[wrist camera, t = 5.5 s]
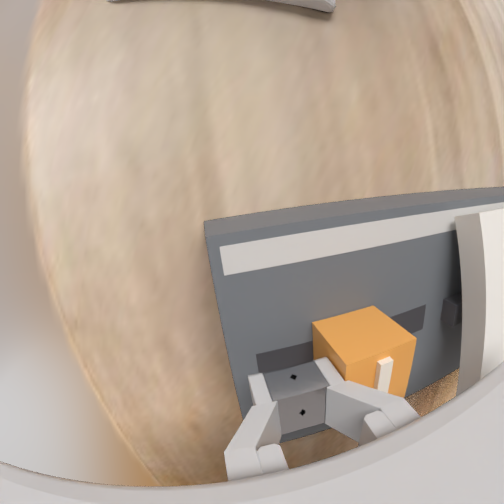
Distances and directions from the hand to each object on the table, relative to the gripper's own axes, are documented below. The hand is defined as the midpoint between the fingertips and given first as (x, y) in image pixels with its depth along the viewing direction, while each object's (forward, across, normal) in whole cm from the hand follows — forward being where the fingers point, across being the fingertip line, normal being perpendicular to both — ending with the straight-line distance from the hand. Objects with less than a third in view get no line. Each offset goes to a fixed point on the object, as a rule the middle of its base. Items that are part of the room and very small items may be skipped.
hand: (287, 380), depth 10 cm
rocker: (0, -11, 0) cm, 11 cm away
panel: (+5, -11, 0) cm, 12 cm away
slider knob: (+1, -3, 0) cm, 3 cm away
